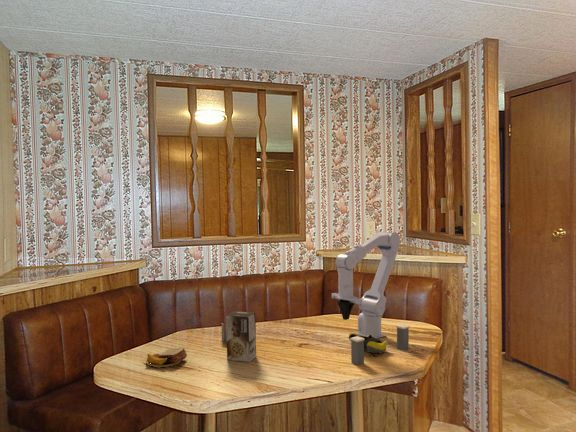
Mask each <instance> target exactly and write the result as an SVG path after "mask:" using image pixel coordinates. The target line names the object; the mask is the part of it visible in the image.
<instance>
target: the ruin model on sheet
mask: <svg viewBox="0 0 576 432" xmlns="http://www.w3.org/2000/svg"><path fill="white" fill-rule="evenodd" d="M221 342H222V343H227V333H226V323H223V322H221Z"/></svg>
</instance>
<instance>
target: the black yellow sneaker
mask: <svg viewBox="0 0 576 432" xmlns="http://www.w3.org/2000/svg"><path fill="white" fill-rule="evenodd" d="M356 336H359V337H362V338H365V340H364V351H367V352H368V353H372V354H383V353H384V352H386V351H387V343H388V341H387V340H383V341H382V339H379V338H374V337H373V335H368V336H366V337H364V336H361V335H358V334H357V333H355V332H353V333H352V332H350V333H349V334H348V340H349V341H350V342H351V340H350V338H352V337H356Z"/></svg>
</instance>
